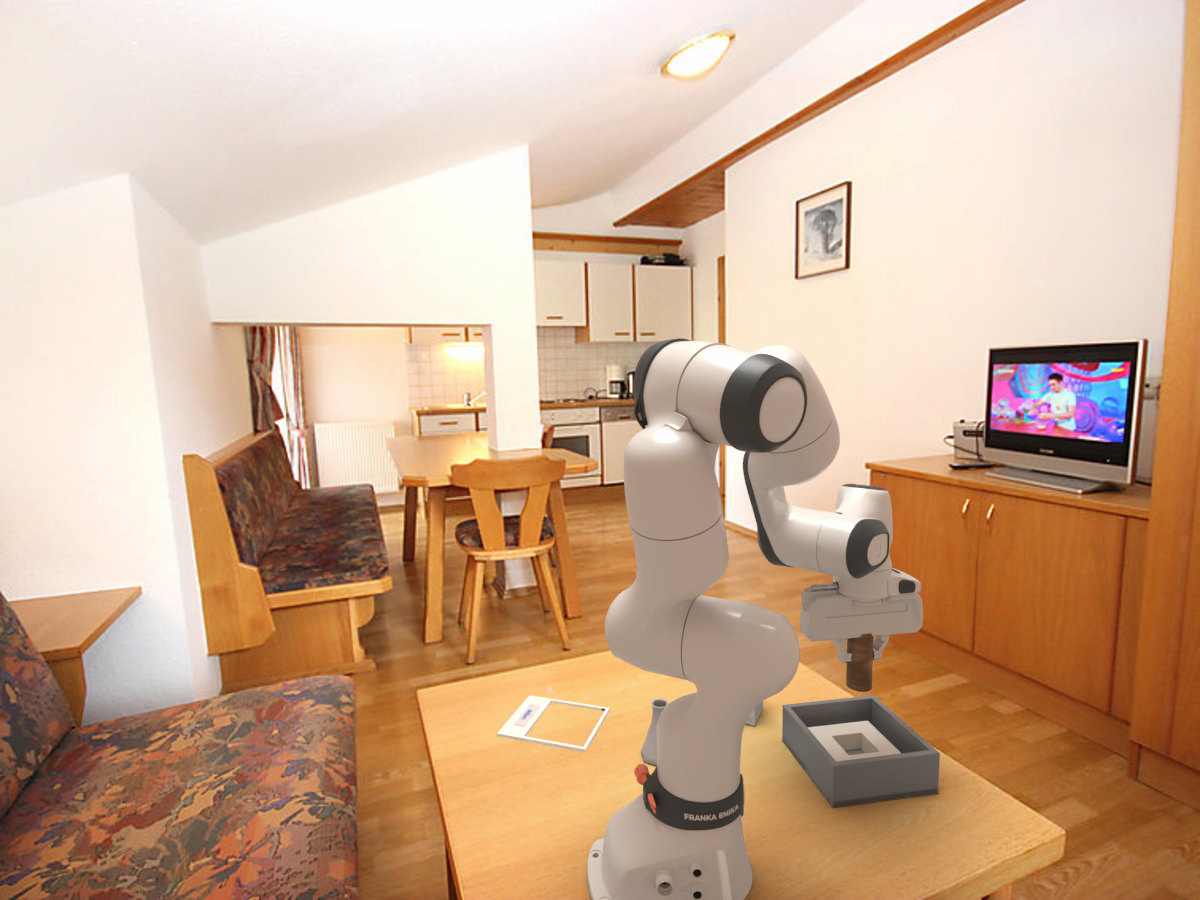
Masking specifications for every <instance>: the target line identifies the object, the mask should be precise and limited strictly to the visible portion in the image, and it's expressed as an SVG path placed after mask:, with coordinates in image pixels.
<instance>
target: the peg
mask: <svg viewBox="0 0 1200 900" xmlns="http://www.w3.org/2000/svg"><path fill="white" fill-rule="evenodd" d="M873 643H874V636H872V634H871V633H870V634H862V635H861V637H859V638H849V639H846V649H847V650H848V651H850V652H851V653H852V657H851V659H852V661H851V662H848V663H846V670H845V671H846V673H845V675H846V676H845V681H846V682H845V684H846V687H848V688H849V689H850V690H852V691H856V692H860V693H866V692H870V691H872V689H873V664H874V663H873V661H874V660H873Z"/></svg>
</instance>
